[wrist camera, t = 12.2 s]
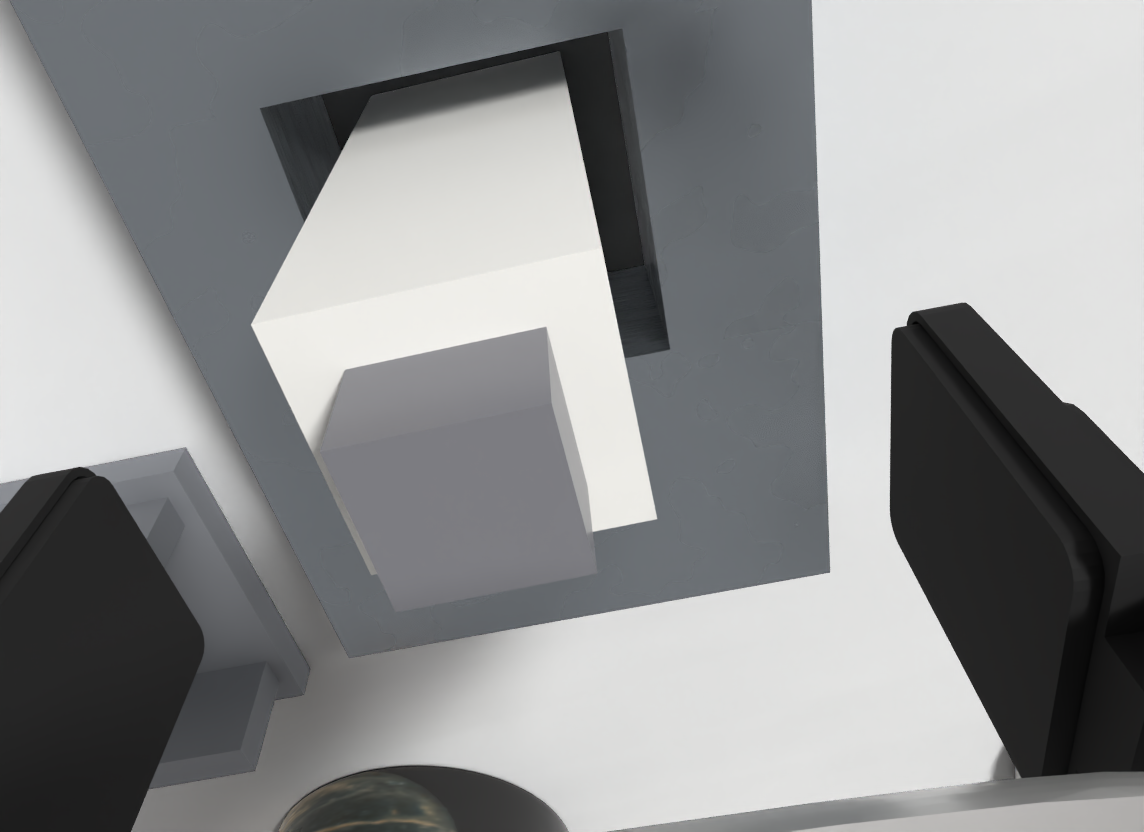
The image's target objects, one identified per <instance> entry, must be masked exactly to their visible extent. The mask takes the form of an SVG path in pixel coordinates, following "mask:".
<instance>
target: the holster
mask: <svg viewBox="0 0 1144 832" xmlns="http://www.w3.org/2000/svg"><path fill="white" fill-rule="evenodd" d="M84 468H88V469H89V470H91V471H92V472H94V473H95V474H96V476H102V477H105V478H106V479H108V480H109V481H110V482H111V484H112V485H113V486H114V488H115V489H116V491H117V493H118V494H119V496H120V498H121V499H122V501H123V502H124V504H125V506H126V507H127V509H128V510H129V512H130V514H131V515H132V517H133V519H134V520H135V522H136V523H137V525H138V527H139V528H140V530H141V532H142V533H143V535H144V536H145V538H146V540H147V541H148V543H149V544H150V546H151V548H152V549H153V551H154V553H155V554H156V556H157V557H158V559H159V561H160V562H161V564H162V565H163V567H164V569H165V570H166V572H167V574H168V575H169V577H170V578H171V580H172V582H173V583H174V585H175V587H176V588H177V590H178V591H179V593H180V595H181V596H182V598H183V599H184V601H185V603H186V604H187V606H188V608H189V609H190V611H191V612H192V614H193V616H194V617H195V619H196V620H197V622H198V624H199V625H200V627H201V630H202V632H203V636H204V644H205V647H204V654H203V658H202V661H201V663H200V665H199V668H198V670H197V673H196V675H195V677H194V680H193V682H192V685H191V687H190V690H189V692H188V694H187V697H186V699H185V702H184V704H183V707H182V709H181V711H180V714H179V716H178V719H177V721H176V723H175V726H174V728H173V731H172V733H171V736H170V738H169V740H168V743H167V745H166V748H165V750H164V752H163V755H162V757H161V760H160V762H159V765H158V767H157V769H156V772H155V774H154V777H153V779H152V781H151V784H150V786H149V789H153V788H159V787H165V786H171V785H176V784H182V783H188V782H194V781H200V780H206V779H212V778H217V777H223V776H229V775H235V774H241V773H247V772H252V771H255V769H256V766H257V762H258V758H259V755H260V751H261V747H262V744H263V740H264V736H265V733H266V729H267V725H268V722H269V718H270V714H271V711H272V707H273V703H274V700H279V699H284V698H290V697H296V696H301V695H304V693H305V689H306V684H307V680H308V676H309V672H310V668H309V666H308V664H307V663H306V661H305V659H304V657H303V655H302V654H301V652H300V650H299V648H298V646H297V645H296V643H295V641H294V639H293V638H292V636H291V634H290V632H289V630H288V629H287V627H286V625H285V623H284V622H283V620H282V618H281V616H280V614H279V613H278V611H277V609H276V607H275V606H274V604H273V602H272V600H271V598H270V597H269V595H268V593H267V591H266V589H265V588H264V586H263V584H262V582H261V581H260V579H259V577H258V575H257V573H256V572H255V570H254V568H253V566H252V565H251V563H250V561H249V559H248V557H247V556H246V554H245V552H244V550H243V549H242V547H241V545H240V543H239V541H238V540H237V538H236V536H235V534H234V532H233V531H232V529H231V527H230V525H229V524H228V522H227V520H226V518H225V516H224V515H223V513H222V511H221V509H220V508H219V506H218V504H217V502H216V500H215V499H214V497H213V495H212V493H211V492H210V490H209V488H208V486H207V484H206V483H205V481H204V479H203V477H202V475H201V474H200V472H199V470H198V468H197V467H196V465H195V463H194V461H193V459H192V458H191V456H190V454H189V452H188V451H187V449H186V448H181V449H176V450H171V451H166V452H161V453H156V454H150V455H145V456H140V457H135V458H130V459H125V460H120V461H115V462H110V463H105V464H99V465H94V466H89V467H84ZM28 479H29V478H28ZM28 479H23V480H18V481H13V482H8V483H3V484H0V512H1V511H2V510H3V509H4V507H5V506H6V505H7V504H8V503H9V501H10V500H11V499H12V498H13V496H14V495H15V494H16V493H17V491H18V490H19V489H20V488H21V486H22V485H23V484H24V483H25V482H26V481H27V480H28Z"/></svg>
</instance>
